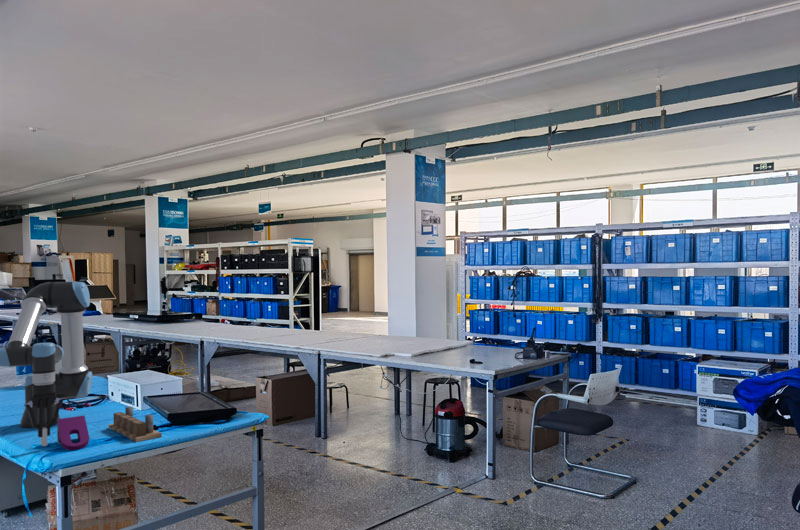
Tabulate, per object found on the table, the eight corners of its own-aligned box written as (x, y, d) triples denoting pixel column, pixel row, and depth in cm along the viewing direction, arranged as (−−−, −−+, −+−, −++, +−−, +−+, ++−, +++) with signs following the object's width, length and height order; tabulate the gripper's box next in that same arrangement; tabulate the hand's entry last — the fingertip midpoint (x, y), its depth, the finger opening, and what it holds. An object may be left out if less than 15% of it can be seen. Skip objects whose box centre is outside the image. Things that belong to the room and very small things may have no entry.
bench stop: (108, 427, 252) (108, 408, 252) (132, 423, 259) (131, 404, 259) (136, 442, 229) (136, 420, 229) (161, 436, 236) (161, 416, 236)
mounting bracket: (89, 460, 225) (83, 432, 239) (90, 443, 223) (84, 415, 236) (61, 465, 220) (57, 436, 233) (62, 448, 217) (57, 419, 230)
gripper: (26, 387, 213) (26, 450, 213) (65, 382, 223) (65, 443, 222) (21, 384, 219) (21, 446, 218) (60, 379, 228) (60, 439, 227)
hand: (44, 445), depth 220 cm, fingers closed
